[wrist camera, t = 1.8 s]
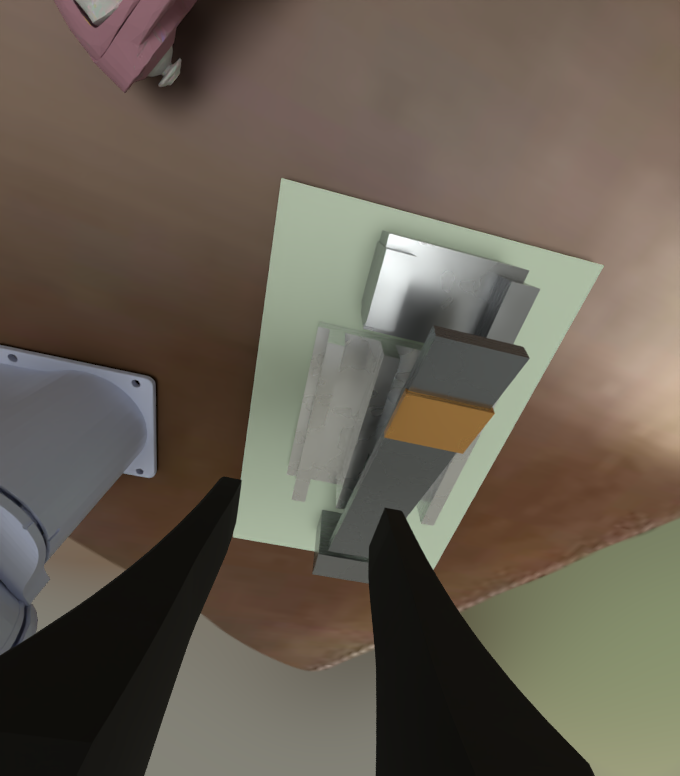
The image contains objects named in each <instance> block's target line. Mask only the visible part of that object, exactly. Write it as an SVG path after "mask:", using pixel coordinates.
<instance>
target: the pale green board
mask: <svg viewBox="0 0 680 776" xmlns="http://www.w3.org/2000/svg"><path fill="white" fill-rule="evenodd" d="M382 230H383V231H387V232H391V233H395V234H398V235H402V236H406V237H410V238H414V239H417V240H421V241H425V242H429V243H432V244H436V245H440V246H444V247H448V248H451V249H455V250H459V251H463V252H467V253H470V254H474V255H478V256H482V257H485V258H489V259H493V260H497V261H501V262H504V263H507V264H510V265H513V266H517V267H520V268H523V269H526V270H530V271H529V273H528V275H527V277H526V279H525V281H524V283H527V284H529V285H532V286H534V287H537V288H540V291H539V293H538V295H537V297H536V299H535V301H534V303H533V305H532V307H531V309H530V311H529V313H528V315H527V317H526V319H525V321H524V323H523V325H522V327H521V329H520V331H519V333H518V335H517V337H516V340H515V342H514V345H518V346H522V347H524V348H525V350H526V352H527V354H528V356H529V358H530V359H529V360H528V361H527V363H526V364H525V365H524V367H523V368H522V369H521V370H520V372H519V373H518V374H517V376H516V377H515V378H514V380H513V381H512V382H511V383H510V385H509V386H508V387H507V389H506V390H505V391H504V392H503V394H502V395H501V396H500V398H499V399H498V401H497V403H496V405H495V407H494V409H493V410H494V413H495V414H494V415H493V417H492V418H491V419H490V420H489V422H488V423H487V424H486V425H485V427H484V429H483V431H482V433H481V434H480V436H479V438H478V440H477V442H476V444H475V446H474V448H473V450H472V452H471V454H470V456H469V458H468V460H467V462H466V464H465V466H464V467H463V469H462V471H461V473H460V475H459V477H458V479H457V481H456V483H455V485H454V487H453V489H452V491H451V493H450V495H449V497H448V499H447V501H446V502H445V504H444V506H443V508H442V510H441V512H440V514H439V516H438V518H437V520H436V522H435V524H434V526H431V525H425V524H421V522H420V518H419V514H418V509H417V505H416V506H415V507H414V509H413V510H412V511H411V513H410V514H409V515H408V516H407V518H406V519H407V521H408V523H409V525H410V527H411V529H412V531H413V533H414V535H415V537H416V539H417V541H418V543H419V545H420V547H421V549H422V551H423V552H424V554H425V556H426V558H427V560H428V562H429V563H430V565H431V567H432V569H434V568H435V566H436V564H437V562H438V561H439V559H440V557H441V555H442V553H443V552H444V550H445V548H446V546H447V545H448V543H449V541H450V539H451V537H452V536H453V534H454V532H455V530H456V529H457V527H458V525H459V523H460V521H461V520H462V518H463V516H464V514H465V512H466V511H467V509H468V507H469V505H470V504H471V502H472V500H473V498H474V496H475V495H476V493H477V491H478V489H479V488H480V486H481V484H482V482H483V480H484V479H485V477H486V475H487V473H488V472H489V470H490V468H491V466H492V464H493V463H494V461H495V459H496V457H497V455H498V454H499V452H500V450H501V448H502V447H503V445H504V443H505V441H506V439H507V438H508V436H509V434H510V432H511V431H512V429H513V427H514V425H515V423H516V422H517V420H518V418H519V416H520V415H521V413H522V411H523V409H524V407H525V406H526V404H527V402H528V400H529V398H530V397H531V395H532V393H533V391H534V390H535V388H536V386H537V384H538V382H539V381H540V379H541V377H542V375H543V374H544V372H545V370H546V368H547V366H548V365H549V363H550V361H551V359H552V358H553V356H554V354H555V352H556V350H557V349H558V347H559V345H560V343H561V341H562V340H563V338H564V336H565V334H566V333H567V331H568V329H569V327H570V325H571V324H572V322H573V320H574V318H575V317H576V315H577V313H578V311H579V309H580V308H581V306H582V304H583V302H584V301H585V299H586V297H587V295H588V293H589V292H590V290H591V288H592V286H593V284H594V283H595V281H596V279H597V277H598V276H599V274H600V272H601V270H602V268H603V267H604V265H601V264H597V263H593V262H590V261H586V260H582V259H578V258H575V257H571V256H567V255H564V254H560V253H556V252H553V251H549V250H545V249H542V248H538V247H534V246H531V245H527V244H523V243H519V242H516V241H512V240H508V239H505V238H501V237H497V236H494V235H490V234H486V233H483V232H479V231H475V230H472V229H468V228H464V227H460V226H457V225H453V224H449V223H446V222H442V221H438V220H435V219H431V218H427V217H424V216H420V215H416V214H412V213H409V212H405V211H401V210H398V209H394V208H390V207H387V206H383V205H379V204H376V203H372V202H368V201H365V200H361V199H357V198H353V197H350V196H346V195H342V194H339V193H335V192H331V191H328V190H324V189H320V188H317V187H313V186H309V185H306V184H302V183H298V182H294V181H291V180H287V179H283V178H281V185H280V192H279V199H278V207H277V214H276V222H275V229H274V236H273V244H272V251H271V259H270V266H269V274H268V281H267V288H266V296H265V303H264V311H263V318H262V325H261V333H260V340H259V348H258V355H257V362H256V370H255V377H254V385H253V392H252V400H251V407H250V414H249V422H248V429H247V437H246V444H245V451H244V459H243V466H242V474H241V480H242V484H241V491H240V499H239V506H238V513H237V521H236V525H235V528H234V533H233V537H235V538H241V539H246V540H252V541H258V542H264V543H270V544H275V545H281V546H287V547H293V548H299V549H304V550H310V551H315V541H316V531H317V526H318V522H319V519H320V516H321V512H322V510H327V511H332V512H338V513H343V511H344V509H339V508H336V486H337V484H333V483H328V482H323V481H317V480H312V479H311V480H310V484H309V488H308V492H307V496H306V500H305V502H301V501H296V500H292V494H293V489H294V484H295V479H296V476H291V475H287V471H288V466H289V461H290V457H291V452H292V447H293V443H294V438H295V433H296V429H297V424H298V419H299V415H300V410H301V405H302V401H303V396H304V391H305V387H306V382H307V377H308V372H309V368H310V363H311V358H312V354H313V349H314V344H315V340H316V335H317V330H318V326H319V322H320V321H322V322H326V323H330V324H334V325H339V326H343V327H347V328H351V329H356V330H360V331H364V332H368V333H373V334H377V335H381V336H385V337H390V338H394V339H398V340H402V341H407V342H411V343H415V344H419V345H424V343H421V342H417V341H413V340H408V339H404V338H400V337H396V336H391V335H387V334H383V333H379V332H375V331H370V330H366V329H363V324H362V317H361V309H362V303H361V301H362V298H363V294H364V290H365V286H366V282H367V279H368V275H369V271H370V267H371V264H372V260H373V256H374V252H375V248H376V245H377V241H380V238H381V234H382Z"/></svg>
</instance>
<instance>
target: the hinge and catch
mask: <svg viewBox="0 0 680 776" xmlns="http://www.w3.org/2000/svg"><path fill="white" fill-rule="evenodd" d="M529 271H530V270H526V269H523V268H520V267H517V266H513V265H510V264H507V263H504V262H501V261H497V260H493V259H489V258H485V257H482V256H478V255H474V254H470V253H467V252H463V251H459V250H455V249H451V248H448V247H444V246H440V245H436V244H432V243H429V242H425V241H421V240H417V239H414V238H410V237H406V236H402V235H398V234H395V233H391V232H387V231H383V230H382V234H381V238H380V241H377V245H376V248H375V252H374V256H373V260H372V264H371V267H370V271H369V275H368V279H367V282H366V286H365V290H364V294H363V298H362V301H361V303H362V309H361V317H362V324H363V329H366V330H370V331H375V332H379V333H383V334H387V335H391V336H396V337H400V338H404V339H408V340H413V341H417V342H421V343H425V341H426V339H427V337H428V335H429V333H430V331H431V329H432V327H433V325H435V326H440V327H444V328H448V329H452V330H456V331H460V332H464V333H469V334H473V335H477V336H481V337H485V338H489V339H493V340H498V341H502V342H506V343H510V344H514V342H515V340H516V337H517V335H518V333H519V331H520V329H521V327H522V325H523V323H524V321H525V319H526V317H527V315H528V313H529V311H530V309H531V307H532V305H533V303H534V301H535V299H536V297H537V295H538V293H539V291H540V288H537V287H534V286H532V285H529V284H527V283H524V281H525V279H526V277H527V275H528V273H529ZM341 515H342V513H338V512H332V511H327V510H322V512H321V516H320V519H319V522H318V526H317V531H316V541H315V552H314V563H313V573H312V574H315V575H321V576H327V577H333V578H339V579H345V580H351V581H357V582H363V583H369V580H368V561H369V558H365V557H360V556H354V555H348V554H342V553H337V552H331V551H328V545H329V540H330V538H331V536H332V534H333V532H334V530H335V528H336V526H337V523H338V521H339V519H340V517H341Z"/></svg>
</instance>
